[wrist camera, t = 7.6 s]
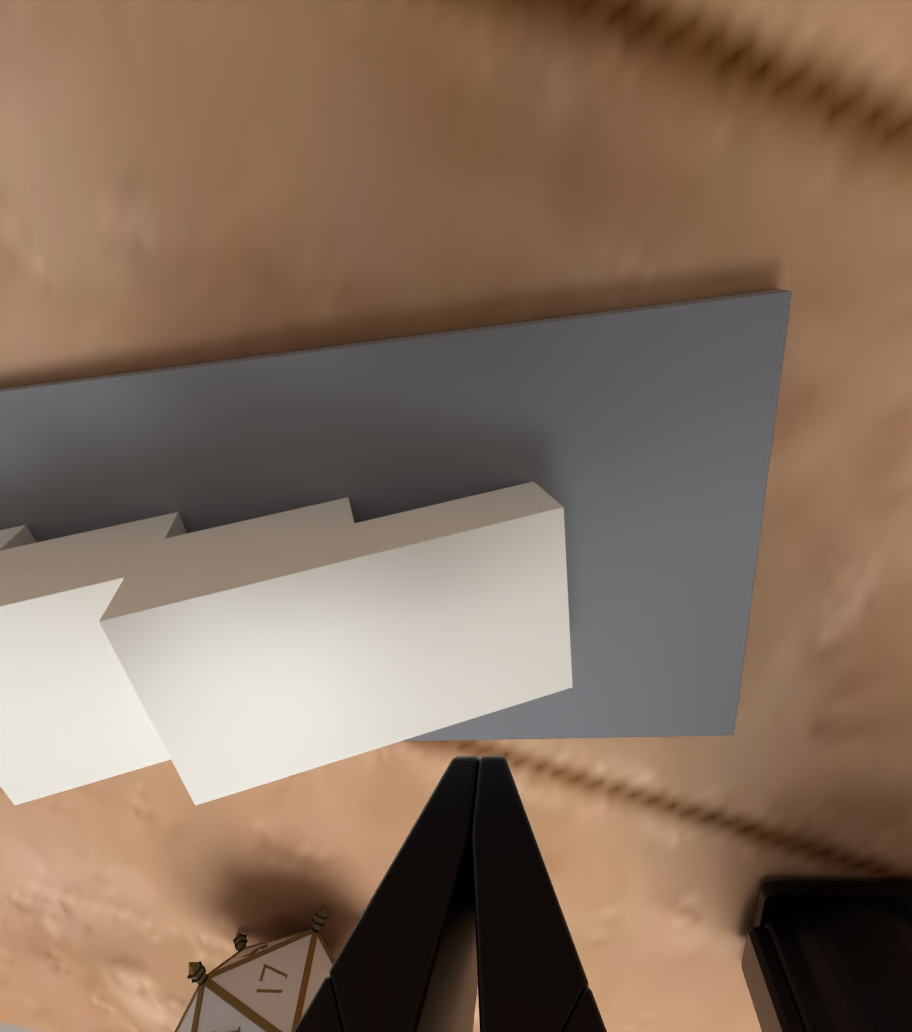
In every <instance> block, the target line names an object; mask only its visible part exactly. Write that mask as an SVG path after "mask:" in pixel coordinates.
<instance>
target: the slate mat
mask: <svg viewBox="0 0 912 1032" xmlns="http://www.w3.org/2000/svg"><path fill="white" fill-rule="evenodd" d="M791 293H792V291H786V290H780V289H775V290H767V291H759V292H751V293H744V294H736V295H728V296H720V297H712V298H704V299H697V300H689V301H681V302H673V303H665V304H658V305H650V306H642V307H634V308H626V309H618V310H611V311H603V312H595V313H587V314H579V315H572V316H564V317H556V318H548V319H540V320H532V321H525V322H517V323H509V324H501V325H493V326H486V327H478V328H470V329H462V330H454V331H446V332H439V333H431V334H423V335H415V336H407V337H399V338H392V339H384V340H376V341H368V342H360V343H353V344H345V345H337V346H329V347H321V348H313V349H306V350H298V351H290V352H282V353H274V354H267V355H259V356H251V357H243V358H235V359H227V360H220V361H212V362H204V363H196V364H188V365H181V366H173V367H165V368H157V369H149V370H141V371H134V372H126V373H118V374H110V375H102V376H95V377H87V378H79V379H71V380H63V381H55V382H48V383H40V384H32V385H24V386H16V387H9V388H1V389H0V530H3V529H8V528H13V527H17V526H22V525H27V526H28V528H29V530H30V532H31V534H32V536H33V537H34V539H35V541H36V543H37V542H42V541H46V540H51V539H55V538H60V537H65V536H69V535H74V534H78V533H83V532H88V531H92V530H97V529H101V528H106V527H111V526H115V525H120V524H124V523H129V522H134V521H138V520H143V519H148V518H152V517H157V516H161V515H166V514H171V513H175V512H179V515H180V517H181V520H182V522H183V525H184V527H185V530H186V532H187V533H192V532H196V531H201V530H205V529H209V528H214V527H218V526H223V525H227V524H232V523H236V522H241V521H245V520H249V519H254V518H258V517H263V516H267V515H272V514H276V513H281V512H285V511H289V510H294V509H298V508H303V507H307V506H312V505H316V504H321V503H325V502H329V501H334V500H338V499H343V498H347V497H348V498H349V502H350V506H351V511H352V515H353V519H354V523H358V522H363V521H367V520H371V519H375V518H380V517H384V516H388V515H393V514H397V513H401V512H405V511H410V510H414V509H418V508H422V507H427V506H431V505H435V504H439V503H444V502H448V501H452V500H456V499H461V498H465V497H469V496H474V495H478V494H482V493H486V492H491V491H495V490H499V489H503V488H508V487H512V486H516V485H520V484H525V483H529V482H533V481H534V482H535V483H536V484H537V485H539V486H540V487H541V488H542V489H543V490H544V491H546V492H547V493H548V494H549V495H550V496H551V497H552V498H554V499H555V500H556V501H557V502H558V503H559V504H561V505H562V506H563V507H564V526H565V546H566V566H567V586H568V606H569V626H570V646H571V666H572V686H573V687H572V688H569V689H566V690H563V691H559V692H556V693H553V694H550V695H547V696H544V697H540V698H537V699H534V700H531V701H528V702H524V703H521V704H518V705H515V706H512V707H508V708H505V709H502V710H499V711H496V712H492V713H489V714H486V715H483V716H480V717H476V718H473V719H470V720H467V721H464V722H460V723H457V724H454V725H451V726H448V727H444V728H441V729H438V730H435V731H432V732H429V733H425V734H422V735H419V736H416V737H413V738H409V739H406V740H403V741H438V740H495V739H551V738H608V737H665V736H721V735H734V729H735V721H736V714H737V706H738V698H739V691H740V683H741V675H742V668H743V660H744V652H745V645H746V637H747V629H748V622H749V614H750V606H751V599H752V591H753V583H754V576H755V568H756V561H757V553H758V545H759V538H760V530H761V522H762V515H763V507H764V499H765V492H766V484H767V476H768V469H769V461H770V453H771V446H772V438H773V430H774V423H775V415H776V407H777V400H778V392H779V385H780V377H781V369H782V362H783V354H784V346H785V339H786V331H787V323H788V316H789V308H790V300H791Z"/></svg>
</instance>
